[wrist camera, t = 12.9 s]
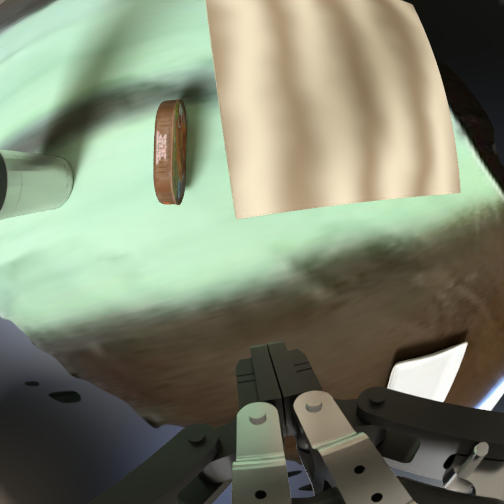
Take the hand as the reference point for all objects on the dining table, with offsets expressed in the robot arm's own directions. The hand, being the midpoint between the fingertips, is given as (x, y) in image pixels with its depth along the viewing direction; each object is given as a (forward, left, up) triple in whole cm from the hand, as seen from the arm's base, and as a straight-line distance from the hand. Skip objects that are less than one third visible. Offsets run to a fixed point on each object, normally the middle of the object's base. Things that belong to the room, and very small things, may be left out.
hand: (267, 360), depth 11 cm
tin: (-7, +14, -32) cm, 36 cm away
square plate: (+40, -47, -33) cm, 70 cm away
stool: (+12, +17, -32) cm, 38 cm away
